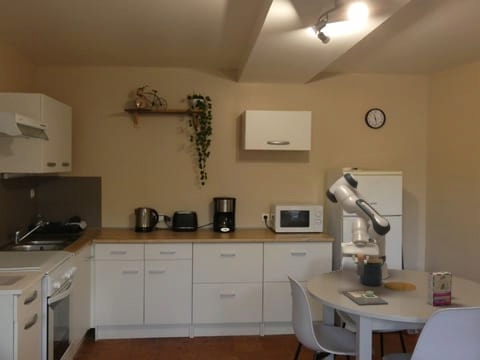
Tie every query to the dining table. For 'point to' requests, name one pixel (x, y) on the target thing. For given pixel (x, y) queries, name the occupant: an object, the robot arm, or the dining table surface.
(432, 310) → the dining table surface
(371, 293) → the button
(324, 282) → the dining table surface
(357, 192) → the robot arm
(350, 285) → the dining table surface
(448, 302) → the candy bar box
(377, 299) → the board
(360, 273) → the marker
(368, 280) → the canister
